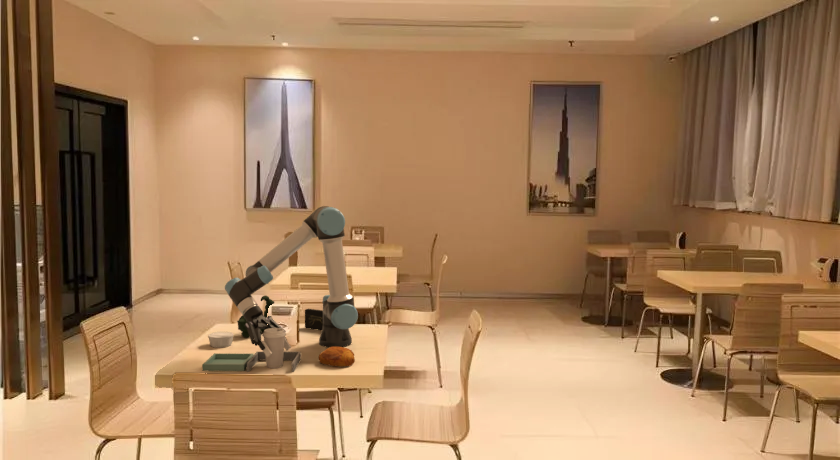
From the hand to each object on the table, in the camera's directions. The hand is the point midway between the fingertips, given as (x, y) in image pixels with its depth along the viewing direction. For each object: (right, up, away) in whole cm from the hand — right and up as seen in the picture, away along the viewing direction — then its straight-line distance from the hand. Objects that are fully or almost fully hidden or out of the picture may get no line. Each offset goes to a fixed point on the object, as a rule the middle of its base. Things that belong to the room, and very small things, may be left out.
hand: (279, 352), depth 278 cm
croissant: (+23, -6, +7) cm, 25 cm away
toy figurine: (-23, -2, +55) cm, 60 cm away
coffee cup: (-3, -6, +2) cm, 7 cm away
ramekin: (-34, -3, +34) cm, 48 cm away
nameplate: (+8, -1, +66) cm, 66 cm away
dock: (-3, -6, +2) cm, 7 cm away
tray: (-22, -6, +3) cm, 22 cm away
